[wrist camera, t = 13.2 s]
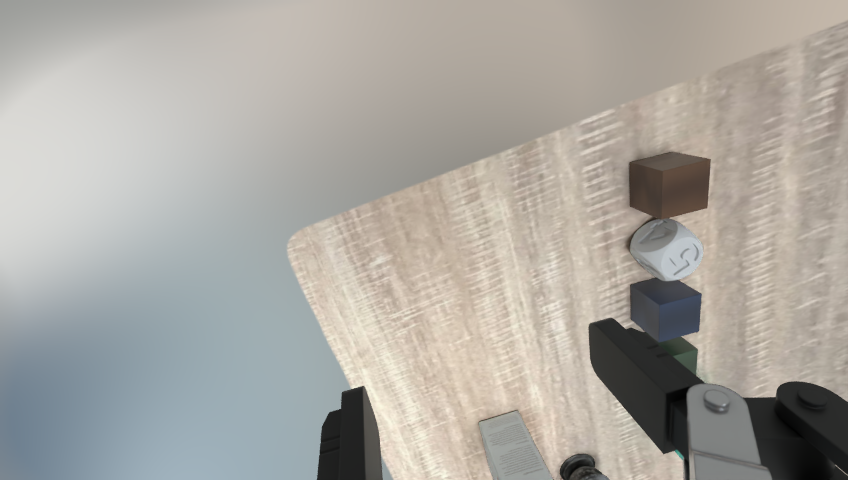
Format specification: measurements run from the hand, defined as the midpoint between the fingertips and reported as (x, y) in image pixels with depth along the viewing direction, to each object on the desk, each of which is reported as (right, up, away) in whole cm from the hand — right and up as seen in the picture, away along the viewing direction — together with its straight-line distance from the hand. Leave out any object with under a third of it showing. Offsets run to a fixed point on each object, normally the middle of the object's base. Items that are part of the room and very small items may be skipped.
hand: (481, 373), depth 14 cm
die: (+24, +4, +33) cm, 41 cm away
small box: (+8, -22, +40) cm, 46 cm away
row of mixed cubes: (+25, +1, +34) cm, 42 cm away
